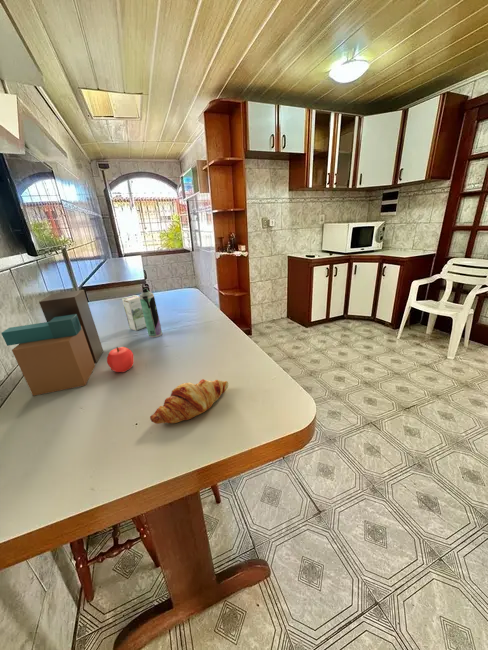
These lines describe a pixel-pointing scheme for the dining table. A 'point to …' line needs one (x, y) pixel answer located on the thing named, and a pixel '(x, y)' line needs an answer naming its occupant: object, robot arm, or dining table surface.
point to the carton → (55, 363)
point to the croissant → (189, 401)
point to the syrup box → (134, 312)
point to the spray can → (150, 313)
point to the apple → (120, 359)
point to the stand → (74, 305)
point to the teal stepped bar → (43, 330)
